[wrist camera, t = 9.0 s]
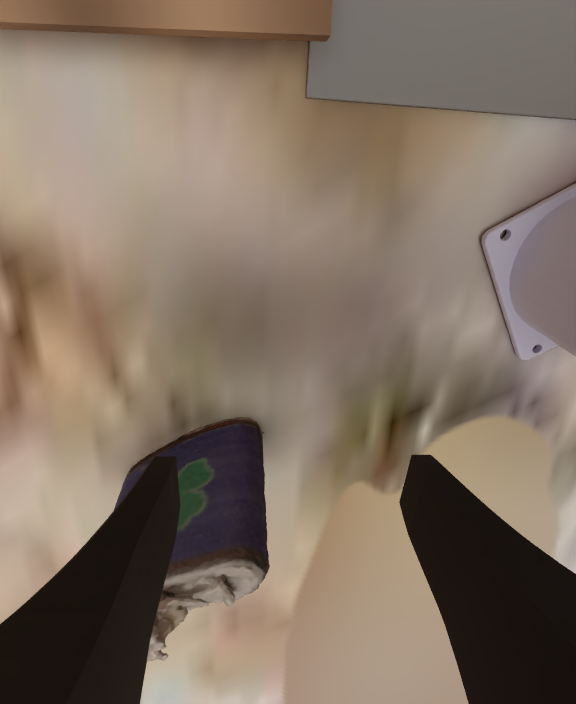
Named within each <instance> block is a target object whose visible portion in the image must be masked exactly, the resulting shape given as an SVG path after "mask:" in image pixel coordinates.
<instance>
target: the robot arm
mask: <svg viewBox="0 0 576 704" xmlns="http://www.w3.org/2000/svg"><path fill="white" fill-rule="evenodd" d="M504 230H506V235H505V237H503V238H502V239H500V234H501V232H502V231H504ZM481 243H482V247H483V250H484V254H485V257H486V260H487V263H488V267H489V270H490V273H491V276H492V279H493V283H494V286H495V289H496V292H497V295H498V299H499V302H500V305H501V308H502V312H503V315H504V318H505V321H506V324H507V328H508V331H509V334H510V337H511V340H512V344H513V347H514V350H515V353H516V355H517V357H518V358H520V359H521V360H525V361H526V360H530V359H532V358H534V357H536V356H538V355H540V354H543V353H545V352H547V351H549V350H551V349H553V348H555V347H557V346H561V347H562V348H564V349H565V350H567V351H568V352H570V353H571V354H573V355H574V356H576V183H575V184H573V185H571V186H569V187H567V188H566V189H564V190H562V191H560V192H558V193H556V194H554V195H553V196H551V197H549V198H547V199H545V200H543V201H541V202H539V203H538V204H536V205H534V206H532V207H530V208H528V209H526V210H525V211H523V212H521V213H519V214H517V215H515V216H513V217H511V218H510V219H508V220H506V221H504V222H502V223H500V224H498V225H497V226H495V227H493V228H491V229H489V230H488V231H486V232H485V233H484V235H483V236H482V240H481ZM536 345H537V347H536V348H535V349H533V347H534V346H536ZM532 349H533V350H532ZM400 506H401V510H402V514H403V518H404V521H405V525H406V528H407V532H408V535H409V537H410V540H411V542H412V545H413V547H414V550H415V552H416V555H417V557H418V560H419V562H420V564H421V567H422V569H423V572H424V574H425V576H426V579H427V581H428V584H429V586H430V588H431V591H432V593H433V595H434V598H435V600H436V602H437V605H438V607H439V610H440V613H441V615H442V618H443V621H444V624H445V626H446V630H447V633H448V636H449V639H450V642H451V646H452V649H453V652H454V655H455V658H456V661H457V665H458V668H459V672H460V675H461V678H462V682H463V685H464V689H465V692H466V696H467V699H468V703H469V704H576V574H575V573H573V572H572V571H570V570H569V569H567V568H566V567H565V566H563V565H562V564H560V563H559V562H557V561H556V560H554V559H553V558H552V557H550V556H549V555H548V554H546V553H545V552H543V551H542V550H541V549H539V548H538V547H537V546H535V545H534V544H532V543H531V542H530V541H529V540H527V539H526V538H525V537H523V536H522V535H521V534H519V533H518V532H517V531H516V530H514V529H513V528H512V527H511V526H509V525H508V524H507V523H506V522H505V521H504V520H502V519H501V518H500V517H499V516H498V515H496V514H495V513H494V512H493V511H492V510H491V509H489V508H488V507H487V506H486V505H485V504H484V503H482V502H481V501H480V500H479V499H478V498H477V497H476V496H475V495H474V494H473V493H471V492H470V491H469V490H468V489H467V488H466V487H465V486H464V485H463V484H462V483H461V482H460V481H459V480H457V479H456V478H455V477H454V476H453V475H452V474H451V473H450V472H449V471H448V470H447V469H446V468H445V467H443V466H442V465H441V464H440V463H439V462H438V461H437V460H436V459H435V458H434V457H433V456H431V455H412V456H411V460H410V464H409V468H408V471H407V475H406V479H405V483H404V487H403V490H402V494H401V498H400ZM179 513H180V495H179V483H178V472H177V460H176V456H155V457H154V458H153V459H151V461H150V462H149V464H148V465H147V467H146V468H145V470H144V471H143V473H142V474H141V476H140V477H139V479H138V480H137V481H136V483H135V484H134V485H133V487H132V488H131V489H130V491H129V492H128V494H127V495H126V496H125V497H124V499H123V500H122V501H121V502H120V504H119V505H118V506H117V508H116V509H115V510H114V511H113V513H112V514H111V515H110V516H109V518H108V519H107V520H106V521H105V522H104V523H103V525H102V526H101V527H100V528H99V529H98V530H97V531H96V533H95V534H94V535H93V536H92V537H91V538H90V540H89V541H88V542H87V543H86V544H85V545H84V546H83V547H82V548H81V549H80V550H79V552H78V553H77V554H76V555H75V556H74V557H73V558H72V559H71V560H70V561H69V562H68V563H67V564H66V565H65V566H64V567H63V568H62V569H61V570H60V571H59V572H58V573H57V574H56V575H55V576H54V577H53V578H52V579H51V580H50V581H49V582H47V583H46V584H45V585H44V586H43V587H42V588H41V589H40V590H39V591H38V592H37V593H36V594H35V595H33V596H32V597H31V598H30V599H29V600H28V601H27V602H26V603H25V604H24V605H22V606H21V607H20V608H19V609H18V610H17V611H16V612H14V613H13V614H12V615H11V616H10V617H8V618H7V619H6V620H5V621H4V622H2V623H1V624H0V704H140V699H141V693H142V686H143V680H144V674H145V669H146V663H147V657H148V651H149V645H150V640H151V635H152V630H153V626H154V621H155V617H156V614H157V610H158V606H159V602H160V598H161V594H162V591H163V587H164V583H165V579H166V575H167V571H168V568H169V564H170V560H171V556H172V552H173V548H174V544H175V540H176V534H177V527H178V520H179Z"/></svg>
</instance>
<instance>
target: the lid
mask: <svg viewBox="0 0 576 704" xmlns="http://www.w3.org/2000/svg"><path fill="white" fill-rule="evenodd" d="M332 1H333V0H0V29H15V30H40V31H66V32H91V33H117V34H142V35H167V36H193V37H218V38H244V39H269V40H294V41H320V42H326V41H327V40H328V39H329V37H330V36H331V20H332Z"/></svg>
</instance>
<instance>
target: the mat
mask: <svg viewBox="0 0 576 704" xmlns="http://www.w3.org/2000/svg"><path fill="white" fill-rule="evenodd" d="M305 98H309V99H322V100H334V101H347V102H359V103H372V104H384V105H397V106H409V107H422V108H434V109H447V110H459V111H472V112H484V113H497V114H509V115H522V116H534V117H547V118H559V119H572V120H576V0H333V1H332V20H331V36H330V37H329V39H328V40H327V41H326V42H320V41H309V52H308V67H307V82H306V96H305Z"/></svg>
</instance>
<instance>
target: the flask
mask: <svg viewBox="0 0 576 704" xmlns="http://www.w3.org/2000/svg"><path fill="white" fill-rule="evenodd" d="M263 433H264V432H262V431H261V430H260V428H259V426H258V424H257V422H255V421H253V420H251V419H250V418H236V419H229V420H224V421H223V422H219V423H216V424H213V425H208V426H205V428H202V429H197V430H196V431H192V432H191V433H189V434H187V435H184V436H182V437H180V438H179V439H178V440H176V441H175V442H172V443H170V444H168V445H166V446H165V447H163V448H161V449H160V450H157V451H156V452H155V453H153V454H150V455H149V456H147V457H146V458H145V459H143V460H141V461H139V462H138V463H137V464H136V465H135V466H134V467H133V468H132V469H131V470H130V472H129V473H128V475H127V477H126V479H125V481H124V483H123V486H122V490H121V492H120V495H119V497H118V500H117V503H116V506H115V509H116V508H117V506H118V505H119V504H120V502H121V501H122V500H123V499H124V497H125V496H126V495H127V494H128V492H129V491H130V489H131V488H132V487H133V485H134V484H135V483H136V481H137V480H138V479H139V477H140V476H141V474H142V473H143V471H144V470H145V468H146V467H147V465H148V464H149V462H150V461H151V459H153V458H154V457H155V456H176V460H177V472H178V483H179V495H180V513H179V520H178V527H177V534H176V540H175V544H174V548H173V552H172V556H171V560H170V564H169V568H168V571H167V575H166V579H165V583H164V587H163V591H162V594H161V598H160V602H159V606H158V610H157V614H156V617H155V621H154V626H153V630H152V635H151V640H150V645H149V651H148V657H147V661H152V660H156V659H160V660H163V661H164V660H165V659H166V658H167V657H168V654H166V653H162V652H161V649H164V648H165V647H167V646H166V645H165V638H166V637H167V635H168V634H169V633H170V632H172V631H173V630H174V629H175V628H176V627H177V626H178V625H179V623H180V622H183V621H184V619H185V617H186V615H187V614H188V610H191V609H194V608H196V607H203V606H209V603H215V602H223V601H224V602H225V604H226V605H227V606H231V605H232V604H233V603H234V602H235V600H237V599H240V598H242V597H243V596H244V595H246V594H249V593H252V592H253V591H255V590H256V589H258V587H259V584H260V583H262V581H263V580H264V578H265V576H266V574H267V572H268V569H269V561H268V551H267V528H266V526H267V523H266V515H265V514H266V502H265V495H264V484H265V482H264V476H265V474H264V467H263V441H262V438H263V437H262V434H263ZM115 509H114V510H115Z"/></svg>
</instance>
